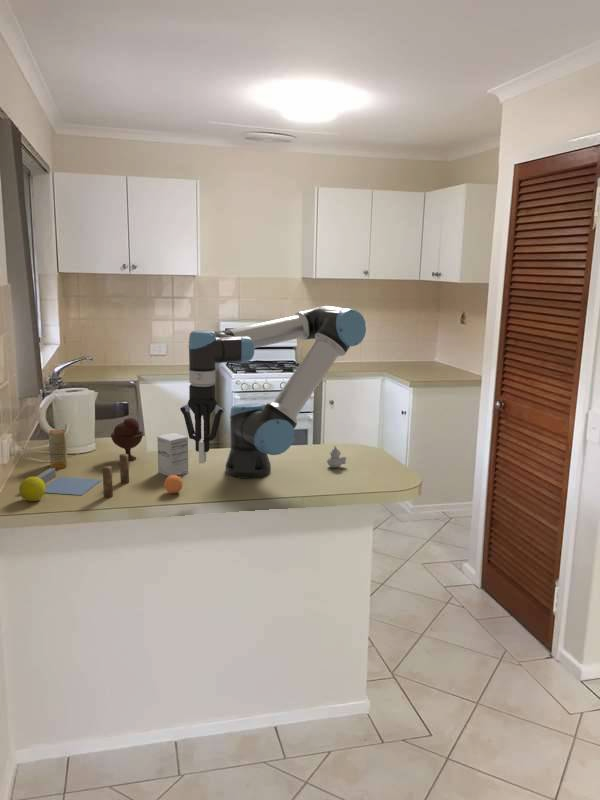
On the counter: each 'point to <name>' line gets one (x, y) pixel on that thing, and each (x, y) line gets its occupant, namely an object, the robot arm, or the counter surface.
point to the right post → (124, 468)
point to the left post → (107, 482)
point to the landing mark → (71, 485)
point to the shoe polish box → (58, 448)
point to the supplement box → (172, 454)
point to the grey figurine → (336, 458)
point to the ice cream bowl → (127, 436)
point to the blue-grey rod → (47, 475)
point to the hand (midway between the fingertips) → (202, 461)
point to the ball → (173, 484)
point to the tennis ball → (32, 489)
